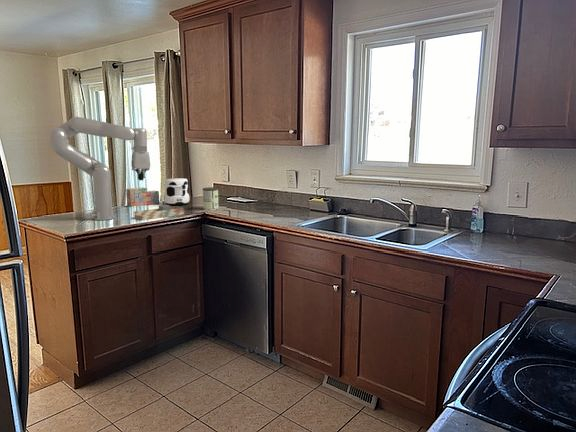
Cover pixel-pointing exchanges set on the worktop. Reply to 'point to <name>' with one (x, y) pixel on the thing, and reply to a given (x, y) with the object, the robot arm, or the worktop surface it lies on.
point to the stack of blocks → (141, 197)
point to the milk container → (176, 191)
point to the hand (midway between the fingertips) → (140, 180)
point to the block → (164, 207)
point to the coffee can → (210, 198)
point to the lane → (158, 213)
